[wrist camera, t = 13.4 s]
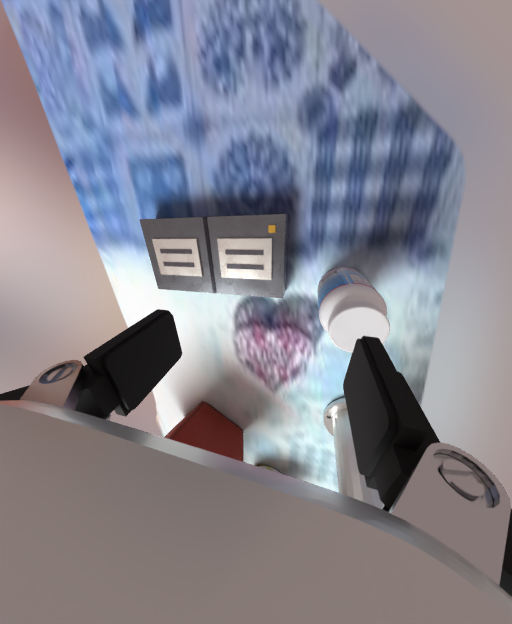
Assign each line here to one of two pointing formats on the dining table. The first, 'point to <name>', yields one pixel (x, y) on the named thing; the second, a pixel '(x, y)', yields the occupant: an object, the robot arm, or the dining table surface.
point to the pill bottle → (351, 308)
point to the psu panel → (220, 253)
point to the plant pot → (209, 432)
